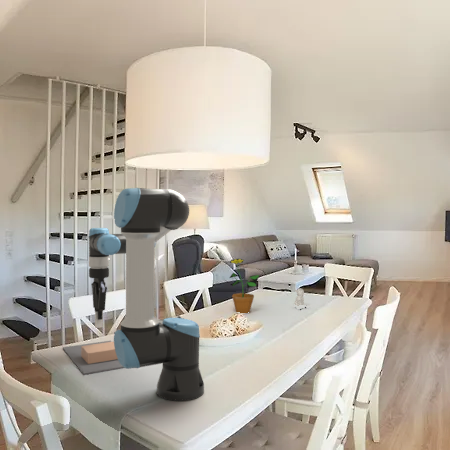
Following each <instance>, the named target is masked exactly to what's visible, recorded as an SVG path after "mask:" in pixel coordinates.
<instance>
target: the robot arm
mask: <svg viewBox="0 0 450 450" xmlns="http://www.w3.org/2000/svg"><path fill="white" fill-rule="evenodd" d="M113 211H114V212H113V219H114V224H115V226H116V227H118V228H120V233H110V231H109V229H108V228H107V227H92V228H91V227H90V228H89V232H88V267H89V269H88V277H89V278H90V279H93V281H92V283H91V291H92V307H93V308H94V328H95V329H99V328H104V311H105V310H106V301H107V300H106V299H107V290H108V287H107V286H106V282H105V279H106V278H109V277H110V268H109V263H110V262H109V261H111V258H110V257H109V256H113V255H123V254H125V317H124V319H123V320H122V321H121V322H120V329H117V330H116V331H114V336H113V342H114V347H115V351H116V355H117V358H118V360H119V362H120V364H121V365H122V366H123V367H124V368H123V369H128V370H131V369H139V368H145V367H150V366H155V365H160V364H162V367H161V368H162V369H161V372H160V374H159V378H158V380H157V384H156V394H157V395H158V397H160V398H163V399H164V400H169V401H176V402H177V401H178V402H179V401H180V402H185V401H190V400H194V399H197V398H200V397H201V396H202V395H204V392H205V382H204V379H203V376H202V373H201V370H200V338H201V336H200V326H199V324H198V323H197V322H196V321H193V320H192V319H187V318H184V319H183V317H181V318H176V317H172V318H171V317H166V318H164V320H163V319H162V320H163V322H162V324H163V325H159V320H160V319H159V318H157V317H156V315H155V294H156V293H155V289H156V288H155V283H156V282H155V280H156V279H155V275H156V273H155V271H156V267H155V266H156V265H155V264H156V263H155V262H156V261H155V260H156V259H155V256H156V243H157V242H158V241H159V240H161V239H162V238H163V237H164V236H166V235H167V234H168V233H170V232H171V231H176V230H178V229H180V228H181V227H182V226H184V224H185V223H187V221H188V219H189V216H190V206H189V203H188V201H187V199H186V198H185V197H184V196H183V195H182V194H181V193H179V192H178V191H176V190H173V189H170V188H166V189H165V188H162V189H161V188H143V187H141V188H140V187H131V188H127V187H126V188H124V189H122V190H121V191H120V192H119V194H118V196H117V198H116V200H115V205H114V210H113Z"/></svg>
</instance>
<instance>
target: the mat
mask: <svg viewBox="0 0 450 450" xmlns="http://www.w3.org/2000/svg"><path fill="white" fill-rule="evenodd" d="M107 342H112V341H111V340H104V341H99V342H92V343H83V344H77V345H69V346H62V350H63V351H64V352H65V353H66V354H67V356H68V357H69V358H70V359H71V361H72V362H73V363H74V364H75V366H76V365H77V366H78V367H77V366H76V367H77V368H78V369H79V371H80V370H81V371H80V372H81V373H82V374H83V375H84V376H86V375H92V374H98V373H103V372H109V371H114V370H121V369H125V368H124V367H123V366H122V365H121V364H120V362H119V360H112V361H106V362H100V363H94V364H88V363H87V362H86V361H85V360H84V359H83V358H82V357H81V346H86V345H93V344H100V343H107Z"/></svg>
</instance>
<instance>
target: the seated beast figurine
mask: <svg viewBox="0 0 450 450" xmlns="http://www.w3.org/2000/svg"><path fill="white" fill-rule="evenodd" d="M294 292H295V293H296V295H297V296H296V297H295V300H294V303H293V305H294V304H295V305H297V306H299V305H304V304H305V301H304V300H305V299H304V295H305V291H304V289H303V288H297V289H295V290H294Z"/></svg>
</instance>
